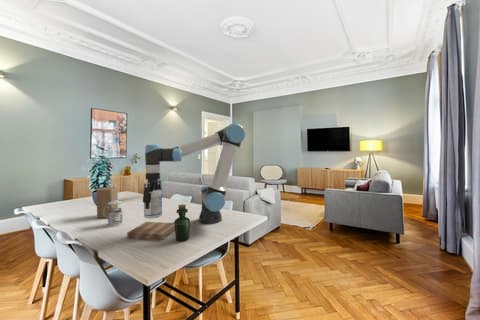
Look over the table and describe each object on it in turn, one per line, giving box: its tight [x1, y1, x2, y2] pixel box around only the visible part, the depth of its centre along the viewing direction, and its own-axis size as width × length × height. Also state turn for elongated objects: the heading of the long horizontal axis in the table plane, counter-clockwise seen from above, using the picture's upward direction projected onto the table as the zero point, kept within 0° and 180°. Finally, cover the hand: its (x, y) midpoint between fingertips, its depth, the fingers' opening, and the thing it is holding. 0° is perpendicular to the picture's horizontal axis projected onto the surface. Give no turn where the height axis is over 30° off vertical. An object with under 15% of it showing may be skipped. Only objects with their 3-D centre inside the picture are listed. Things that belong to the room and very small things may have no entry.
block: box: [96, 186, 119, 219], centre depth 153 cm, size 10×10×20 cm
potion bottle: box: [173, 203, 191, 243], centre depth 112 cm, size 8×8×18 cm
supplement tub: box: [143, 190, 163, 219], centre depth 121 cm, size 10×10×15 cm
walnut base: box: [126, 221, 175, 241], centre depth 122 cm, size 20×18×3 cm
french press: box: [103, 184, 125, 228], centre depth 135 cm, size 10×12×25 cm
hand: (153, 211), depth 121 cm, fingers closed on supplement tub, 9 cm apart
